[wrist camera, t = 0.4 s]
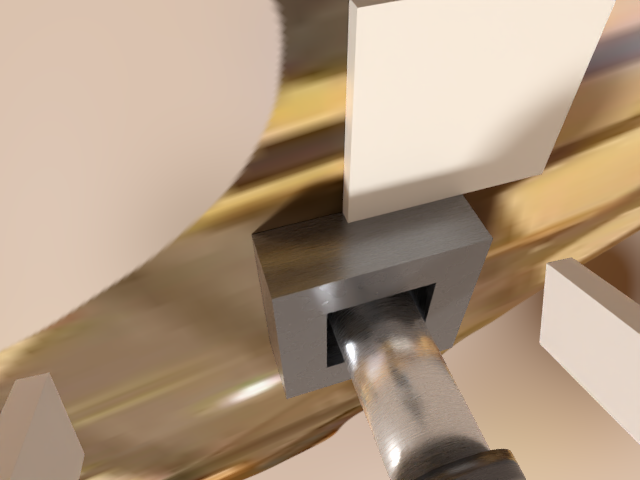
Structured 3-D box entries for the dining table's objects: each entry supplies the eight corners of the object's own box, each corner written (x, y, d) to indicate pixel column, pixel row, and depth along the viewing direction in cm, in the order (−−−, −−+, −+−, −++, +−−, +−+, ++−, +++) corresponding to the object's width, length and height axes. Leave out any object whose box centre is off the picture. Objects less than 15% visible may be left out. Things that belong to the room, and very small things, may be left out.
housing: (251, 234, 33) (271, 299, 30) (455, 183, 36) (492, 238, 33) (270, 343, 44) (286, 399, 41) (425, 298, 47) (451, 347, 44)
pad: (349, -3, 23) (357, 7, 23) (619, -49, 26) (633, -41, 25) (342, 211, 34) (347, 223, 34) (533, 164, 37) (542, 173, 36)
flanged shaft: (304, 263, 35) (399, 516, 26) (414, 234, 37) (544, 462, 27) (307, 325, 42) (385, 547, 32) (402, 297, 43) (504, 502, 33)
